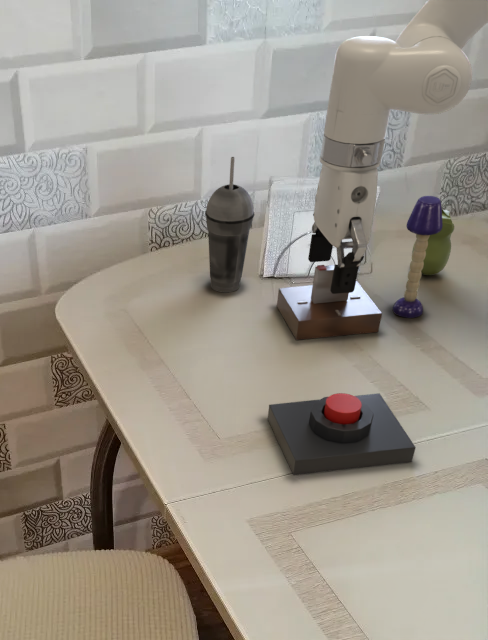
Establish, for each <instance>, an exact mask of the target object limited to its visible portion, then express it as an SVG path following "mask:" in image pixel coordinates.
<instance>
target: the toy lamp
mask: <svg viewBox="0 0 488 640" xmlns="http://www.w3.org/2000/svg"><path fill="white" fill-rule="evenodd" d="M442 207H443V206H442V201H441V199H440V197H437V196H434V195H423V196H421V197H419V198H418V199H417V200H416V202H415V205H414V206H413V208H412V211H411V213H410V214H409V217H408V219H407V222H406V229H407V231H409V232H411V233H412V234H415V238H416V239H415V241H414V243H413V246H414V249H415V250H414V251H413V254H412V253H411V261H410V264H409V269H410V270H409V271H408V274H407V279H408V280H407V281H406V284H405V291H404V293H403V297H400V298H399V299H397V300H396V301H395V303H393V306H392V311H393V313H394V314H395V315H396V316H399V317H401V318H406V319H407V318H408V319H415V318H418V317H420V316H421V315H422V314H423V313H424V306H423V304H422V302H421V301H420V300H419V299H418V298H417V297H418V290H419V288H420V280H421V279H422V275H423V274H422V273H421V270H422V269H423V266H424V262H423V260H424V259H425V256H426V251H425V250H426V249H427V247H428V239H429V237H430V235H433V234H437V233H439V232H440V231H441V230H442V210H443V208H442ZM412 259H413V260H412Z"/></svg>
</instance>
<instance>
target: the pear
mask: <svg viewBox="0 0 488 640" xmlns="http://www.w3.org/2000/svg"><path fill="white" fill-rule="evenodd" d="M454 231H455V225H454V223H453V220H452V217H451V213H450V211H449V210H448V209H442V230H441V231H440V232H439V233H437V234H433V235H430V237H429V239H428V247H427V249H426V250H425V251H426V256H425V259H424V260H423V262H424V266H423V269H422V270H421V273H422V275H423V276H433V275H436V274H438V273H440V272H442V271H443V270H444V269H445V267H446V266H447V265H448V262H449V260H450V256H451V251H452V240H451V239H452V238H451V237H452V234H453V232H454ZM414 250H415V249H414V245H413V246H412V251H411V255H412V254H413V251H414ZM412 260H413V259H412V258H411V261H412Z"/></svg>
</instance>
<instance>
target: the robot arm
mask: <svg viewBox="0 0 488 640" xmlns="http://www.w3.org/2000/svg"><path fill="white" fill-rule="evenodd" d="M486 24H488V0H426V1H425V3H424V4H423V5H422V7H421V8H420V9H419V10H418V11H417V12H416V13H415V15H414V16H413V17H412V18H411V20H410V21H409V22H408V23H407V24H406V26H405V27H404V28H403V29H402V30H401V32H400V33H399V35H398V37H397V38H396V39H395V41H394V40H393V39H390V38H387V37H381V36H373V35H371V36H370V35H369V36H368V35H365V36H363V35H361V36H355V37H354V36H353V37H350V38H347V39H345V40H344V41H342V42H341V43H340V44H339V45H338V47H337V49H336V52H335V56H334V62H333V67H332V68H333V69H332V76H331V83H330V89H329V95H328V102H327V109H326V116H325V123H324V130H323V136H322V142H321V149H320V150H321V151H320V156H319V162H320V163H321V169H320V173H319V179H318V183H317V187H316V188H317V189H316V194H315V195H314V209H313V213H312V216H313V221H314V222H313V224H312V226H311V233H312V234H311V238H310V244H309V250H308V257H307V260H308V261H309V262H310V263H319V262H330V260H331V258H332V254H333V248H336V259H337V264H334V265H335V266H334V272H333V277H332V283H331V289H330V291H331V292H332V294H338V293H351V292H353V291H354V289H355V284H356V281H357V278H358V274H359V268H360V267H361V265H362V262H363V261H364V259H365V254H366V252H367V250H368V246H369V243H370V240H371V236H372V230H373V224H374V219H375V218H374V217H375V211H376V203H377V194H378V180H379V179H378V176H379V170H378V168H379V167H380V166H381V161H382V156H383V153H384V146H385V142H386V136H387V131H388V127H389V121H390V116H391V112H392V110H393V111H400V112H406V113H410V114H411V113H412V114H417V115H424V116H432V115H440V114H443V113H446V112H448V111H450V110H452V109H453V108H455V107H457V106H458V105H459V104H460V103H461V102H462V101H463V100H464V99H465V98H466V96H467V94H468V93H469V90H470V87H471V85H472V82H473V69H472V64H471V61H470V59H469V58H468V56H467V54H466V53H465V52H464V51H463V48H464V47H465V46H466V45H467V43H468V42H469V41H470V40H471V39H472V38H473V37H475V35H476V34H477V33H478V32H479V31H481V29H482V28H483V27H484V26H485V25H486ZM343 240H351V241H343ZM345 249H351V251H350V252H348V253H347V254H346V255H345Z"/></svg>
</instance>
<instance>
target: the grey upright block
mask: <svg viewBox="0 0 488 640" xmlns="http://www.w3.org/2000/svg"><path fill="white" fill-rule="evenodd" d="M335 265H336V264H331V265H330V264H329V265H325V264H317V265H316V266H315V267H314V273H313V281H312V285H313V287H312V294H311V300H312V302H313V303H314V304H317V303H327V302H338V301H347V300H348V295H349V293H338V294H332V292H331V291H330V289H331V283H332V277H333V272H334V266H335Z"/></svg>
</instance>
